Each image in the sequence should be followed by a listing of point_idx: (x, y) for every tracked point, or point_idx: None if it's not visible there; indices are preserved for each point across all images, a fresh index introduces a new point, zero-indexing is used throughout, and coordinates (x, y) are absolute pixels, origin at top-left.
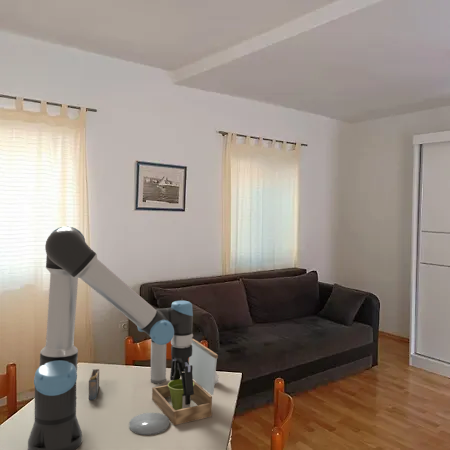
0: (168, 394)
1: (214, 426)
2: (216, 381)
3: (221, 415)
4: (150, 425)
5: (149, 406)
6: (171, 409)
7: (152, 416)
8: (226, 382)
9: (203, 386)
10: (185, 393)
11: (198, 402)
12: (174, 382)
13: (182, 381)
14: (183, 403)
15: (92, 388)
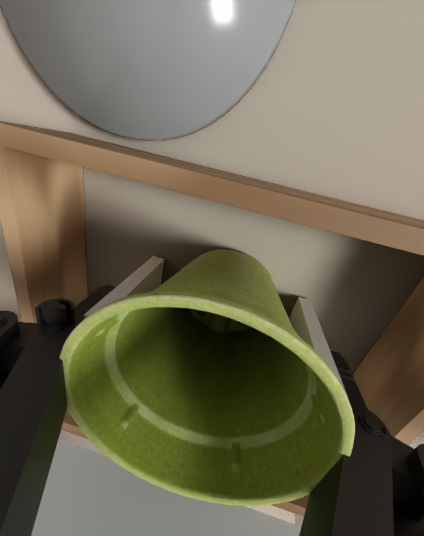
0: (398, 337)
1: (4, 279)
2: (295, 514)
3: None
4: None
5: (402, 148)
6: (30, 130)
7: (198, 27)
8: (284, 515)
9: (95, 465)
10: (35, 328)
11: None
12: (324, 427)
13: (1, 458)
14: (123, 281)
15: None
